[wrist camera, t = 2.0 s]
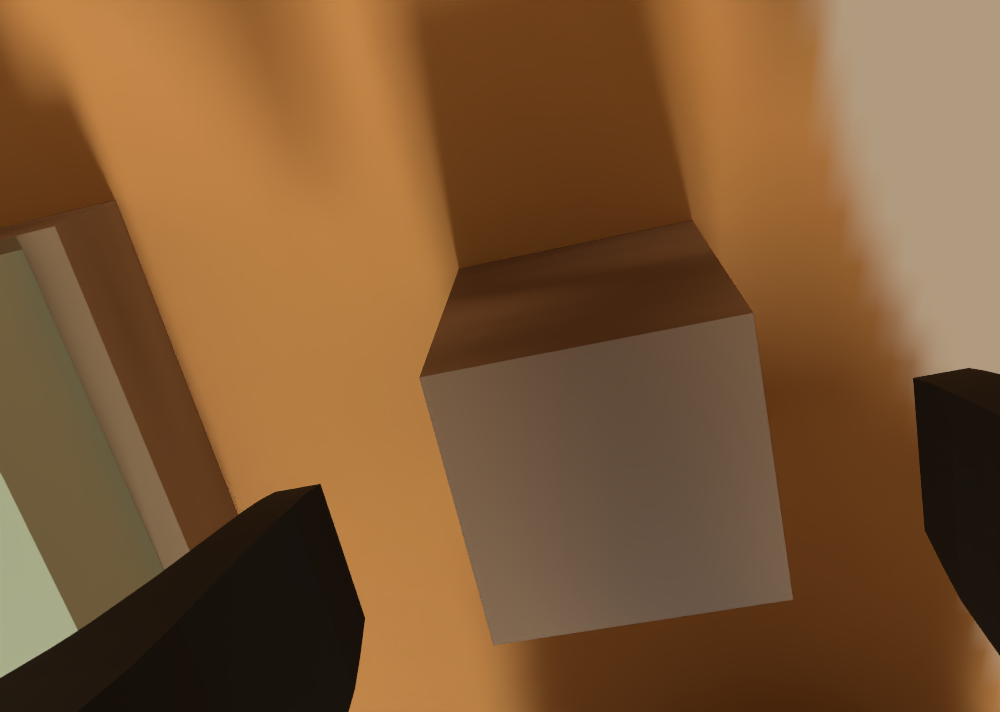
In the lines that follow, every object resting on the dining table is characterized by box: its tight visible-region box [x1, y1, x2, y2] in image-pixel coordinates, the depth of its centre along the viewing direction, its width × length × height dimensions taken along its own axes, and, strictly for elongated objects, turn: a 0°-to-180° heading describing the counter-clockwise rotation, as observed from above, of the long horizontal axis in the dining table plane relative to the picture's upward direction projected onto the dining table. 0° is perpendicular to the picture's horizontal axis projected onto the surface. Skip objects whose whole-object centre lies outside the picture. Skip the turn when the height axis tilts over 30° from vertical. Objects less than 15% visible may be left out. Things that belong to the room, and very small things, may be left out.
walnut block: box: [419, 220, 793, 645], centre depth 14 cm, size 4×4×5 cm
